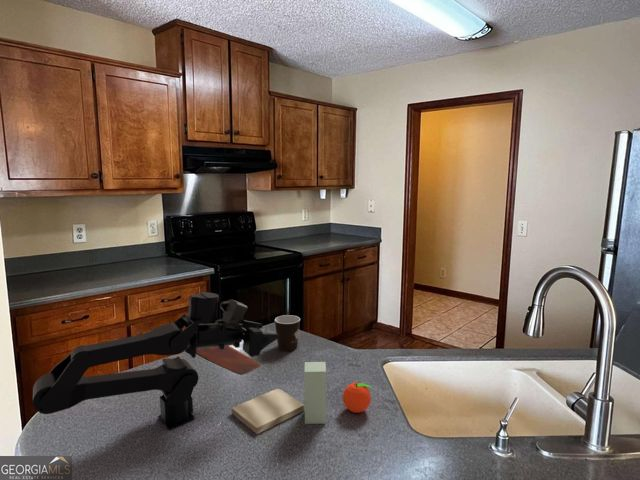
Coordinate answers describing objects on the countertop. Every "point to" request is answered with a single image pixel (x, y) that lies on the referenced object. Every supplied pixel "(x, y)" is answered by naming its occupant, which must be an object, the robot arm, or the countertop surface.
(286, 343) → the coffee mug
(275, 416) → the birch board
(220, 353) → the wooden tablet
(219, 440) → the countertop surface
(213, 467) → the countertop surface
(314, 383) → the green block
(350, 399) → the clementine
